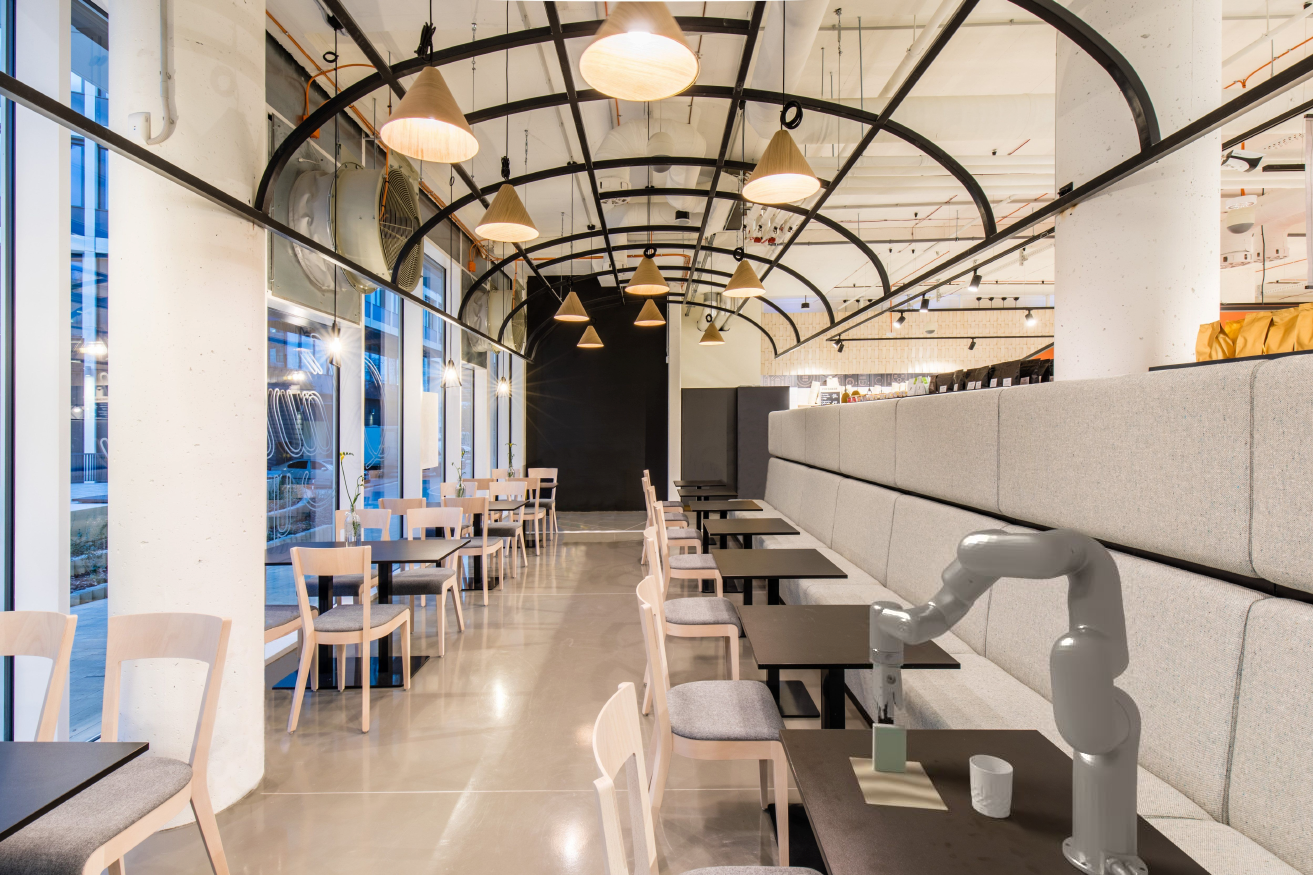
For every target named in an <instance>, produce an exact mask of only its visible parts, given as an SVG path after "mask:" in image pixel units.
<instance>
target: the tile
mask: <svg viewBox="0 0 1313 875" xmlns="http://www.w3.org/2000/svg"><path fill="white" fill-rule="evenodd" d="M872 759H873V769H874V770H875V771H889V772H902V773H906V761H907V726H906V725H903V724H894V725H891V724H878V723H872Z"/></svg>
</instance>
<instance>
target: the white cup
mask: <svg viewBox="0 0 1313 875" xmlns="http://www.w3.org/2000/svg"><path fill="white" fill-rule="evenodd" d="M1013 775H1014V768H1013V766H1012V765H1011V764H1010V763H1009V762H1007V761H1006V760H1004V759H1001V758H999V757H997V756H993V755H987V754H975V755H973V756H971V757H970V758H969V778H970V780H969V781H970V793H971V794H970V795H971V805H972V807H973V809H975V810H976V811H977V812H978V813H980V814H982V815H984V816H987V817H991V818H996V819H997V818H998V819H999V818H1000V819H1004V818H1007V817H1009V815H1010V814H1011V804H1012V796H1013V778H1014V777H1013Z"/></svg>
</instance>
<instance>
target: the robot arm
mask: <svg viewBox="0 0 1313 875" xmlns="http://www.w3.org/2000/svg"><path fill="white" fill-rule="evenodd" d="M956 555H957V556H956V557H955V558H954V559H953V560H952V561H951V562H950V563H949V564H948V565H946V567H945V568H944V569H943V570H942V571H941V577H940V578H941V581H942V583H943V585H942V587H941V588H940V589H939V590H938V591H937V592H936V594H935V595H933V597H931V598H930V599H929V600H928V601H927V602H926V603H924V604H922V605H919V606H915V607H911V608H905V609H904V608H903V606H902V605H901V604H899V603H897V602H895V601H890V600H876V601H873V602H872V603H871V604H870V607H869V662H871V664H872V665H873V666H872V694H873V697H874V699H875V701H876V702H877V711H878V712H877V713H878V715H877V724H891V725H895V720H894V719H895V706H896V708H897V710H898V711H900V712H901V711H902V710H903V709H904V704H903V703H904V700H903V697H904V696H903V681H902V680H903V678H902V669H901V666H904V644H907V645H912V646H913V645H919V644H921V643H925V642H927V641H931V640H934V639H937V638H939V637H941V636H943V635H945V634H946V633H947V632H948V631H949V630H951V629H952V628H953V627H954V626H955V625H956V624H958V623H959V622H960V621H961V620H962V619H963V618H964V617H966V615H967V613H969V611H970V610H971V609H972V607H973V606H974V604H975V602H976V601H977V600H978V599H980V597H981V596H982V595H984V593H986V591H988V590H989V589H990V588H991V587H992V586H993V585H994V584H996V582H998V581H999V580H1000V579H1001V578H1010V579H1011V578H1013V579H1015V578H1016V579H1023V580H1024V579H1026V580H1029V579H1030V580H1050V579H1051V580H1052V579H1056V578H1059V577H1063V576H1066V578H1067V580H1068V581H1067V582H1068V590H1067V603H1066V604H1067V609H1068V621H1069V622H1068V623H1069V624H1068V626H1069V627H1068V632H1066V633H1064V634H1062V635H1061V636H1059V638H1058V639H1057V640H1055V641H1054V644H1052V648H1051V650H1050V655H1049V673H1050V675H1049V676H1050V686H1051V687H1050V688H1051V695H1052V696H1051V701H1052V711H1053V718H1054V723H1055V726H1056V729H1057V731H1058V733H1059V735H1060V737H1061V738H1062V739H1063V740H1064V742H1065V743H1066V744H1067V745H1068V746H1069V747H1071V748H1072V749H1073V752H1072V754H1073V755H1072V836H1070V837H1067V838H1066V839H1064V840H1063V842H1062V853H1063V855H1064V858H1066V859H1067V861H1068V862H1069V863H1070V864H1071V865H1073V866H1074V867H1075V868H1077V869H1078V870H1080V872H1081V871H1082V872H1083V873H1085V874H1087V875H1149V871H1148V866H1147V865H1146V864H1145V862H1144V861H1143V860H1142V859H1141V858H1140V857H1139V856H1138V765H1139V764H1138V760H1139V751H1140V750H1139V748H1140V742H1141V740H1140V739H1141V733H1142V732H1141V731H1142V718H1141V712H1140V709H1139V708H1138V705H1137V703H1136V702H1135V699H1133V697H1132V696H1131V695H1130V694H1128V693H1127V692H1126V691H1125V690H1124V689H1122V688H1120V687H1119V686H1116V685H1115V682H1114V680H1116V678H1118V677H1120V676H1121V675H1123V673H1124V672H1125V671H1126V670H1127V668H1128V667H1129V664H1130V653H1129V652H1130V651H1129V645H1128V637H1127V626H1126V616H1125V610H1124V601H1123V590H1122V581H1121V576H1120V572H1119V571H1120V570H1119V568H1118V566H1117V562H1116V561H1115V559H1114V557H1113V556H1112V554H1111V553H1110V552H1109V550H1108V549H1107V548H1106V547H1105V546H1104V545H1103V544H1101V543H1100V542H1099V541H1097V540H1096V539H1095V538H1093V537H1091V536H1089V534H1085V533H1083V532H1080V531H1077V530H1073V529H1066V528H1065V529H1063V528H1061V529H1060V528H1059V529H1058V528H1057V529H1050V530H1045V531H1040V532H1029V533H1028V532H1008V531H1007V530H1004V529H999V528H989V529H982V530H974V531H971V532H970V533H967V534H965V535H964V536H963V537H962V539H961V540H960V541H959V543H958V545H957V547H956Z"/></svg>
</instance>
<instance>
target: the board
mask: <svg viewBox="0 0 1313 875" xmlns="http://www.w3.org/2000/svg"><path fill="white" fill-rule="evenodd" d="M849 762H850V764H851V766H852V768H853V771H854V773H855V776H856V779H857V782H858V784H859V786H860V790H861V792H862V794H863V798H864V801H865V803H866V804H868V805H880V806H893V807H904V808H905V807H906V808H917V809H929V810H930V809H931V810H942V811H949V809H948V807H947V806H946V804H945V802H944V801H943V799H942V798H941V796H940V794H939V792H938V791H937V790H936V787H935V786H934V784H933V783H932V781H931V779H930V778H929V776H928V775H927V773H926V770H924V768H923V766H922V764H921V763H920V762H919V761H909V760H908V761H907V760H906V773H902V772H889V771H875V770H874V769H873V758H863V757H850V756H849Z"/></svg>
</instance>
